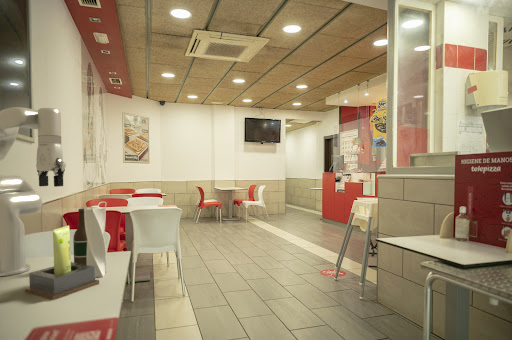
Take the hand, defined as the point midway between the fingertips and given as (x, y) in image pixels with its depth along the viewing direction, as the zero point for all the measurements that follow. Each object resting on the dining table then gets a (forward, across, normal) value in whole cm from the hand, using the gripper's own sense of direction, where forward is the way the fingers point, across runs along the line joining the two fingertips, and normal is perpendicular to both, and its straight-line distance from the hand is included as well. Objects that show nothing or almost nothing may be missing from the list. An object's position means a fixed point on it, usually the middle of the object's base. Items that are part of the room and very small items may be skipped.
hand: (51, 186), depth 126 cm
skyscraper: (+34, +15, +8) cm, 38 cm away
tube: (+33, +16, -6) cm, 37 cm away
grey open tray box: (+34, +16, -6) cm, 38 cm away
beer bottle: (+34, -2, +14) cm, 37 cm away
